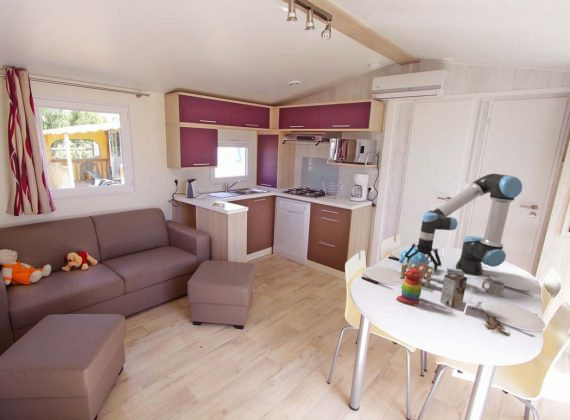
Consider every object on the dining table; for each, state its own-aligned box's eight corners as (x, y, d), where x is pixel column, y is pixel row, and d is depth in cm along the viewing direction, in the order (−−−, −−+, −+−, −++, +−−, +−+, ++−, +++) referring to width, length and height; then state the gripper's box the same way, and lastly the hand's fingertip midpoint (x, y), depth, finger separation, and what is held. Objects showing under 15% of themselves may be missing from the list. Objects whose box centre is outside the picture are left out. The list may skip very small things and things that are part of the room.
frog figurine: (476, 318, 144) (477, 310, 143) (506, 324, 139) (507, 317, 138) (481, 331, 133) (482, 323, 133) (513, 339, 129) (515, 331, 128)
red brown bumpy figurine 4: (405, 278, 180) (407, 262, 178) (402, 280, 176) (405, 265, 174) (402, 277, 181) (404, 261, 179) (399, 280, 177) (402, 264, 175)
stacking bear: (403, 293, 163) (408, 263, 159) (422, 301, 156) (428, 269, 152) (394, 300, 156) (399, 268, 152) (414, 308, 149) (419, 275, 145)
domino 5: (429, 285, 172) (432, 269, 170) (427, 288, 168) (430, 271, 166) (426, 284, 173) (429, 268, 171) (424, 287, 169) (427, 271, 167)
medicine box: (458, 282, 180) (460, 269, 178) (461, 286, 175) (464, 272, 173) (444, 281, 180) (446, 268, 178) (447, 284, 176) (450, 271, 174)
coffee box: (450, 300, 158) (455, 272, 155) (462, 306, 153) (468, 277, 149) (439, 303, 154) (444, 275, 150) (450, 310, 149) (456, 280, 145)
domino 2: (412, 280, 177) (415, 264, 175) (410, 283, 173) (413, 267, 171) (410, 279, 178) (412, 263, 176) (407, 282, 174) (410, 266, 172)
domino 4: (421, 282, 175) (423, 266, 172) (418, 285, 171) (421, 269, 169) (418, 281, 176) (420, 266, 173) (416, 284, 172) (418, 268, 169)
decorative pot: (431, 269, 198) (434, 249, 195) (418, 274, 188) (421, 254, 185) (408, 260, 210) (411, 242, 207) (395, 265, 201) (398, 246, 198)
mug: (503, 293, 168) (505, 283, 167) (501, 297, 164) (503, 286, 162) (482, 287, 175) (484, 277, 174) (479, 291, 170) (482, 280, 169)
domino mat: (436, 286, 173) (436, 284, 173) (431, 294, 164) (432, 292, 164) (391, 273, 188) (391, 271, 188) (384, 279, 179) (385, 278, 179)
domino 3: (415, 277, 184) (418, 262, 182) (424, 279, 181) (427, 264, 179) (415, 278, 183) (417, 262, 181) (423, 280, 180) (426, 265, 178)
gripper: (402, 235, 181) (397, 267, 185) (448, 245, 166) (441, 280, 171) (406, 232, 186) (401, 264, 191) (451, 242, 172) (444, 276, 177)
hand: (420, 272), depth 181 cm, fingers open, 13 cm apart
